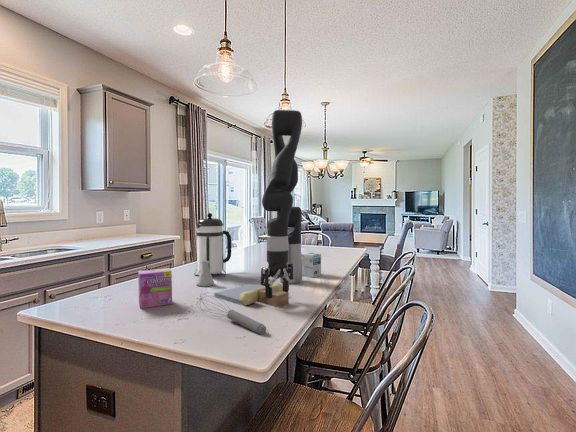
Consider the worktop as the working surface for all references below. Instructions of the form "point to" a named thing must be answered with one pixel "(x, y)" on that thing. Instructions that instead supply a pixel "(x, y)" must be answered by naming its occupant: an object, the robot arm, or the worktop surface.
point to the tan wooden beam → (273, 297)
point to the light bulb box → (311, 264)
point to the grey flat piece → (243, 294)
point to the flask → (205, 275)
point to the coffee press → (211, 244)
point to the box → (155, 287)
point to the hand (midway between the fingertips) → (277, 295)
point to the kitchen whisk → (239, 318)
